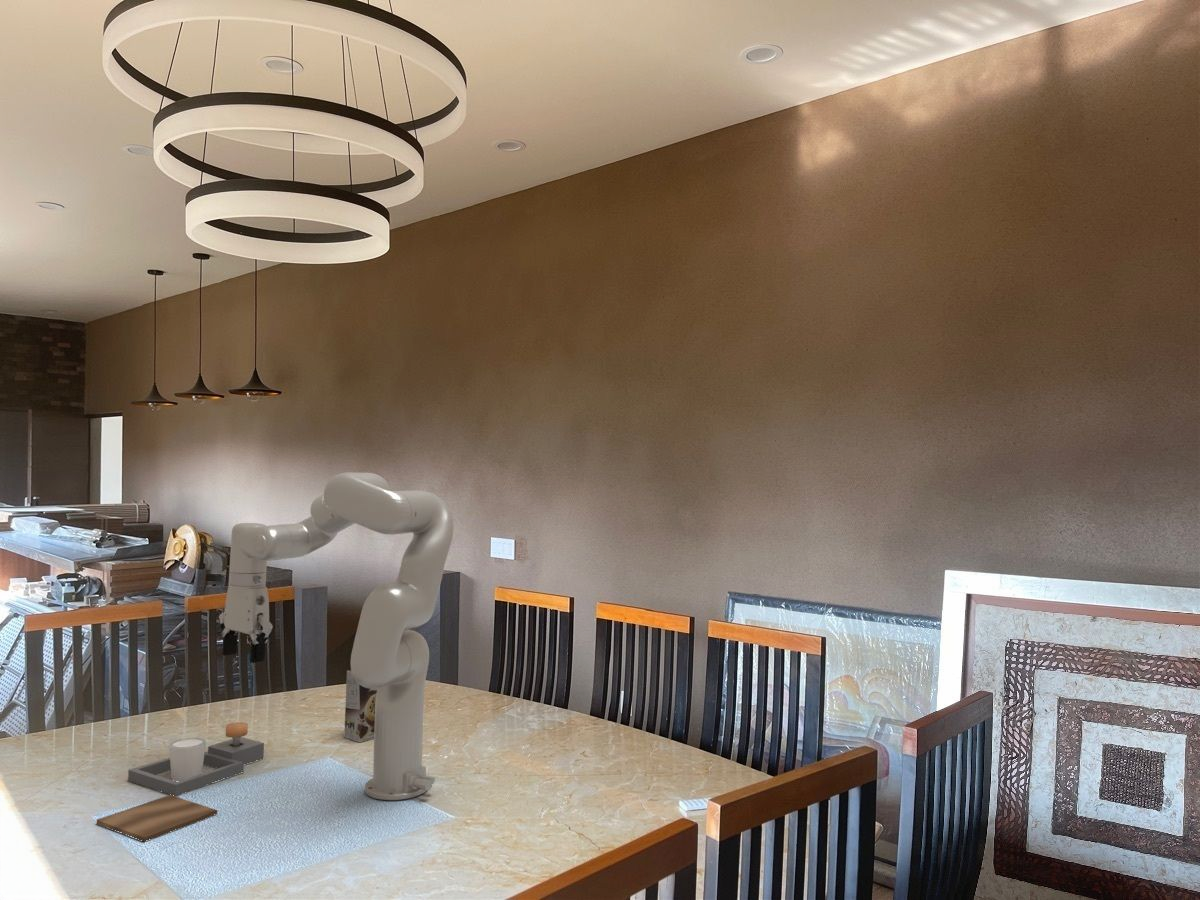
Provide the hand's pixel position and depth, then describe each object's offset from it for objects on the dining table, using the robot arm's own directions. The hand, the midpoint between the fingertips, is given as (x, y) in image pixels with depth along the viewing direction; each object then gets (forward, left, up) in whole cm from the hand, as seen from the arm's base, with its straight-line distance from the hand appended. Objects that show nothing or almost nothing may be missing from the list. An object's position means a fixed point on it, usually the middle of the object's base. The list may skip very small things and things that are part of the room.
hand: (243, 658), depth 186 cm
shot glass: (+1, +12, -23) cm, 26 cm away
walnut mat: (-14, +28, -22) cm, 39 cm away
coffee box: (-10, -28, -23) cm, 37 cm away
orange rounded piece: (+1, 0, -19) cm, 19 cm away
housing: (+1, +8, -22) cm, 24 cm away
